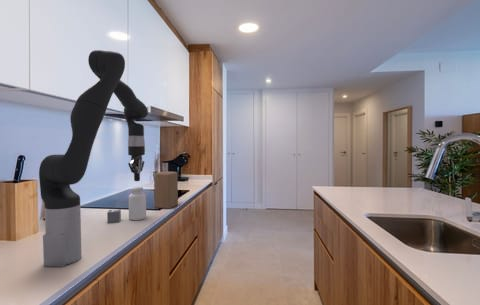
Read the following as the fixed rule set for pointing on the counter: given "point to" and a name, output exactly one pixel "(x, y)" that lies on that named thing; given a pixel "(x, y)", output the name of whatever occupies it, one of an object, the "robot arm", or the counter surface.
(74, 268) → the counter surface
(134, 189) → the pill bottle
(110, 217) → the number cube
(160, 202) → the wooden block
